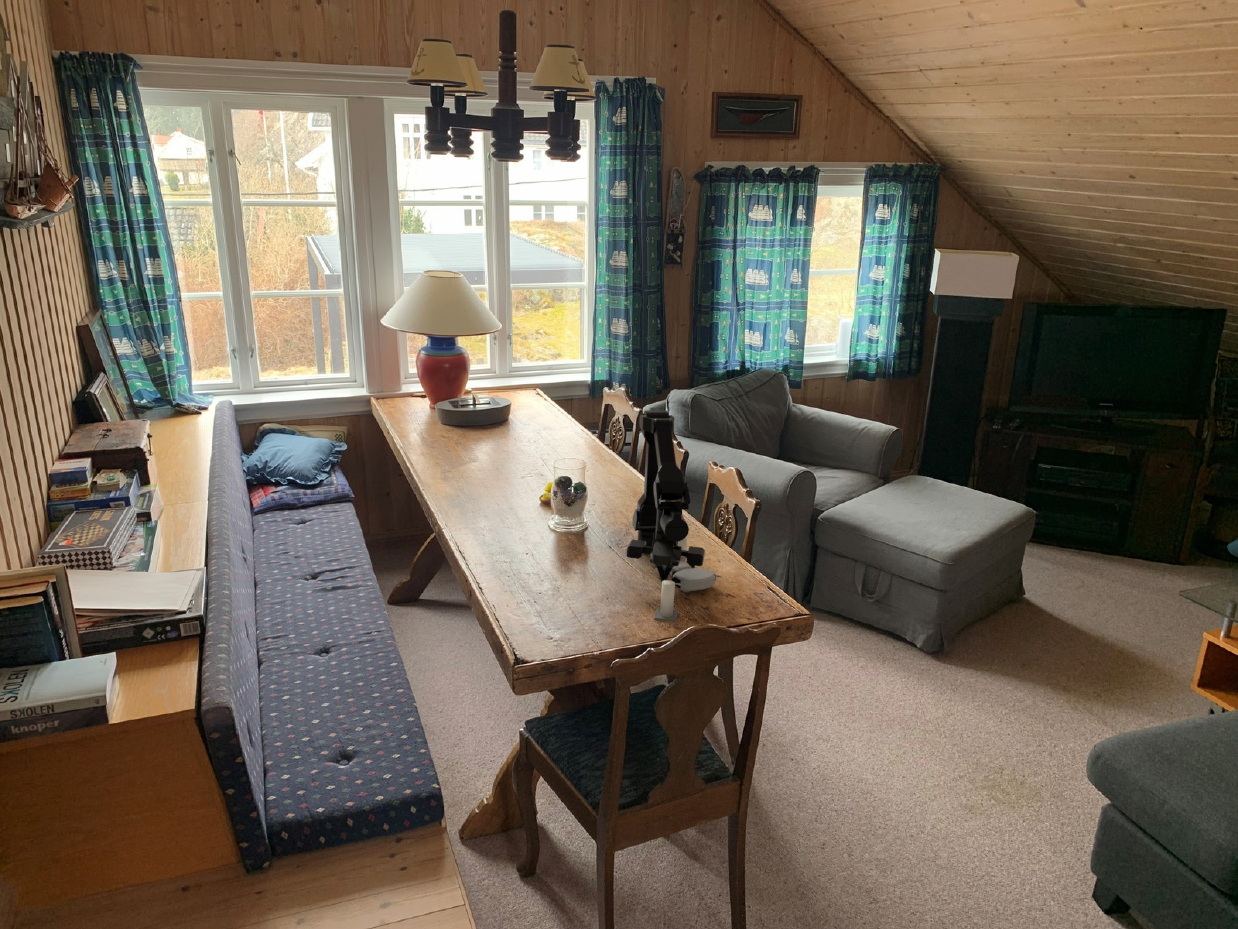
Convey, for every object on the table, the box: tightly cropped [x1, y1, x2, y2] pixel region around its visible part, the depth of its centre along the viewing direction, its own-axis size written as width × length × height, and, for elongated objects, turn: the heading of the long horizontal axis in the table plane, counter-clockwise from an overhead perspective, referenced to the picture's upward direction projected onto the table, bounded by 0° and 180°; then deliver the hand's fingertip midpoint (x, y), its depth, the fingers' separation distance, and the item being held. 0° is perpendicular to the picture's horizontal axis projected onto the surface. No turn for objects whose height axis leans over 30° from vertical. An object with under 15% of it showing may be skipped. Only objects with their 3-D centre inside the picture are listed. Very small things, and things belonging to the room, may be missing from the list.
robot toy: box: [654, 561, 723, 593], centre depth 225 cm, size 12×4×15 cm
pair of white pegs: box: [653, 535, 688, 623], centre depth 221 cm, size 33×5×9 cm, turn 170°
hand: (663, 584), depth 221 cm, fingers closed
